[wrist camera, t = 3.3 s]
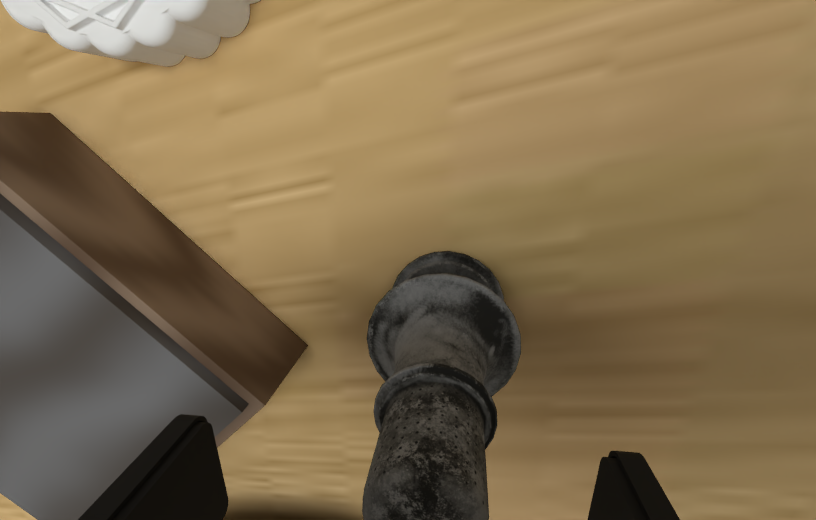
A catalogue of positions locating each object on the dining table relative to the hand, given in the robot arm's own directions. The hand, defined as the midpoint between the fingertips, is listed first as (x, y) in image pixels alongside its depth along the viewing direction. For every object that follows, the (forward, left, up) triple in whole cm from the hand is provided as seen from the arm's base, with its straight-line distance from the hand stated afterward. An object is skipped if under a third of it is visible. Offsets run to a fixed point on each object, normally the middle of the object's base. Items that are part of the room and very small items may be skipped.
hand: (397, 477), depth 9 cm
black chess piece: (-1, -1, -10) cm, 10 cm away
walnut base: (+10, +14, -9) cm, 20 cm away
